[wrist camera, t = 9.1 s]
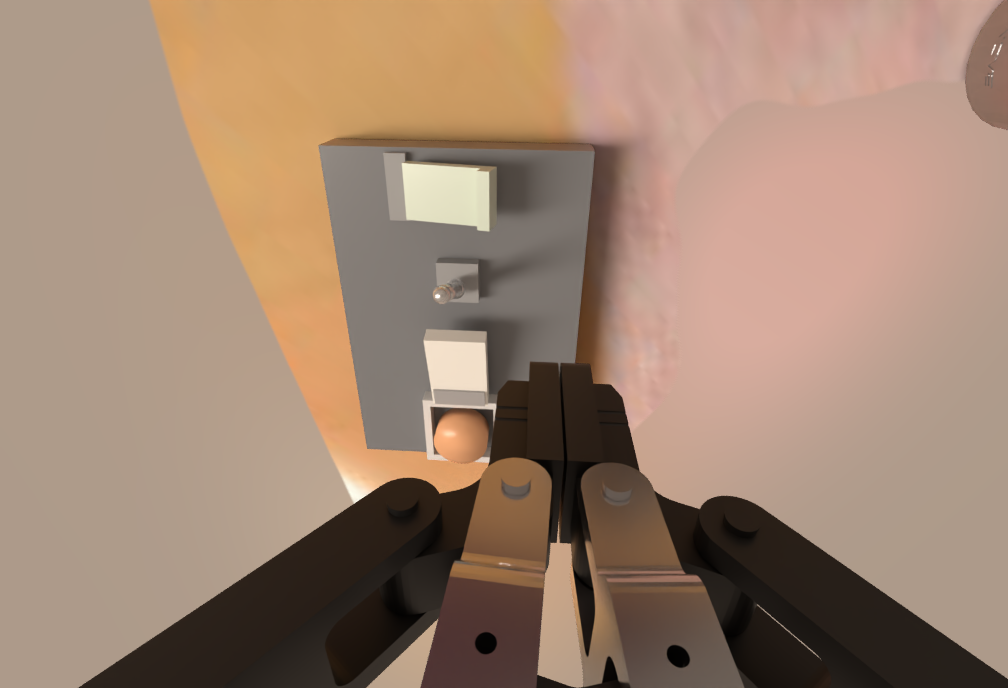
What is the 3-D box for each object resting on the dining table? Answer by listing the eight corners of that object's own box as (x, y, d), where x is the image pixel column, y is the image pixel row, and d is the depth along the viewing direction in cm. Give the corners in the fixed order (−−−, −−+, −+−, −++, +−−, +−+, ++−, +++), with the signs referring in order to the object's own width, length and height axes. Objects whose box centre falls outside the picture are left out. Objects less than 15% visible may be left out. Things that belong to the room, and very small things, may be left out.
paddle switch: (496, 166, 31) (489, 171, 30) (496, 224, 33) (489, 231, 32) (407, 160, 33) (396, 165, 31) (411, 216, 35) (401, 222, 33)
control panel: (591, 143, 35) (596, 154, 31) (564, 436, 48) (566, 469, 44) (334, 138, 36) (310, 148, 32) (376, 427, 49) (362, 458, 45)
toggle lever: (467, 278, 36) (452, 283, 30) (466, 298, 37) (451, 307, 30) (447, 278, 36) (428, 282, 30) (447, 297, 37) (428, 307, 30)
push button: (489, 408, 42) (486, 423, 41) (489, 448, 45) (487, 464, 43) (436, 405, 43) (432, 420, 41) (439, 446, 45) (435, 462, 43)
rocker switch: (486, 331, 37) (484, 344, 36) (489, 394, 42) (487, 408, 41) (426, 329, 37) (423, 342, 36) (435, 392, 42) (432, 405, 41)
